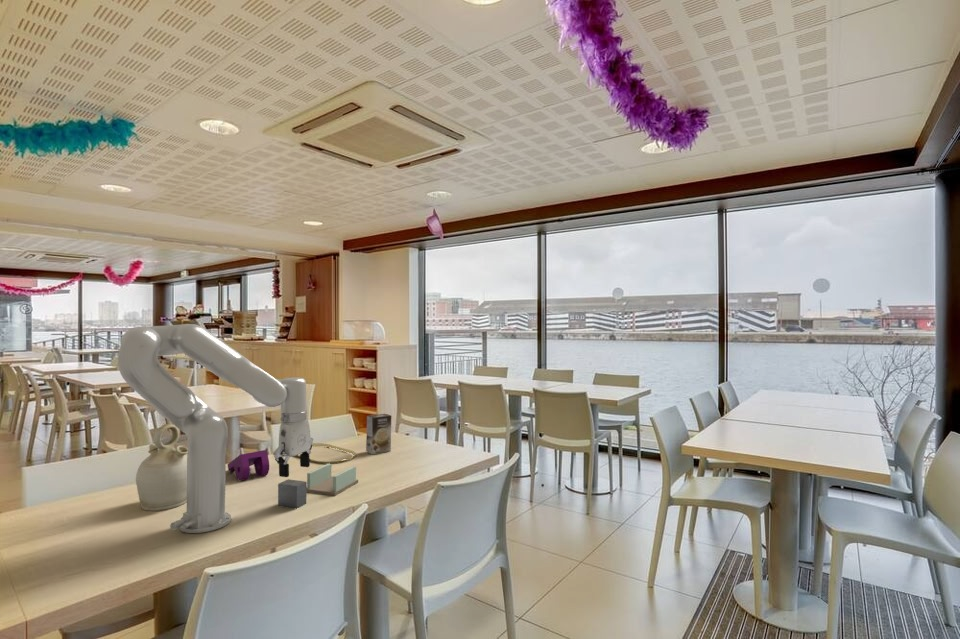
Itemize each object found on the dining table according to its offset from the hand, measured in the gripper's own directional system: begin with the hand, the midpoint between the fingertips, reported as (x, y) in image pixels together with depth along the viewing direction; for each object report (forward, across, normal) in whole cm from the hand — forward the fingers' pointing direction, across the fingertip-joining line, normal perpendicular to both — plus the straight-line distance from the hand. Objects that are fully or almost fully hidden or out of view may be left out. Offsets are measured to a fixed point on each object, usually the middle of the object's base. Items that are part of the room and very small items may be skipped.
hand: (294, 471), depth 152 cm
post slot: (+11, +17, -2) cm, 20 cm away
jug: (+10, -13, +38) cm, 42 cm away
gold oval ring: (+12, +51, +28) cm, 59 cm away
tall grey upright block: (+10, -1, 0) cm, 10 cm away
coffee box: (+12, +63, +7) cm, 65 cm away
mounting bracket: (+11, +19, +38) cm, 44 cm away
